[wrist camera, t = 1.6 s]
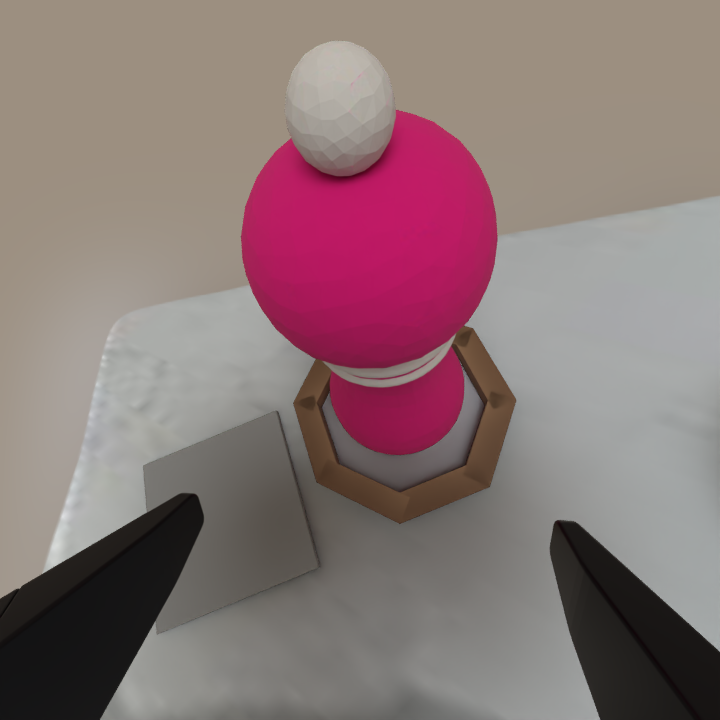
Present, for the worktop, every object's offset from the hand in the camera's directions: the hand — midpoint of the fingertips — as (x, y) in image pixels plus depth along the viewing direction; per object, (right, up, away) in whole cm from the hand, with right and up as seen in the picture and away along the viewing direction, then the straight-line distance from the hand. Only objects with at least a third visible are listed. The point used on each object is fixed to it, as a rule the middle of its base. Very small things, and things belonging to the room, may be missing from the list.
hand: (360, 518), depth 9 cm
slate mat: (-9, -6, +14) cm, 17 cm away
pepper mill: (+3, +1, +15) cm, 15 cm away
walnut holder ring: (+3, +1, +14) cm, 15 cm away
